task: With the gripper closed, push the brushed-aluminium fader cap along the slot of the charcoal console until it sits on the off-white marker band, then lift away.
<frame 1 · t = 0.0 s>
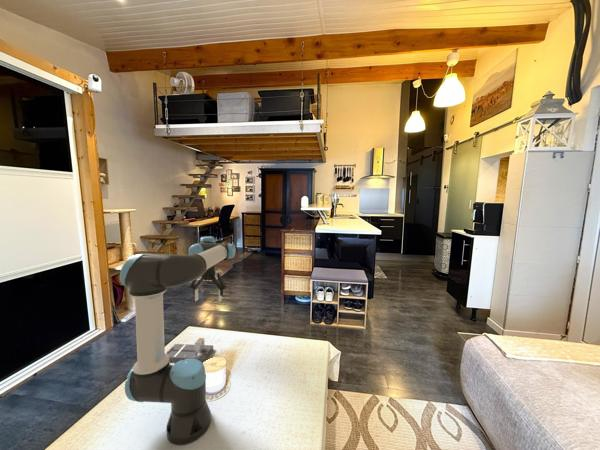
hand: (208, 300, 138), 28 cm above the table, fingers open, 13 cm apart
fader: (199, 345, 131), point 6 cm above the table, slide at -6.0 cm
console: (189, 355, 132), on the table
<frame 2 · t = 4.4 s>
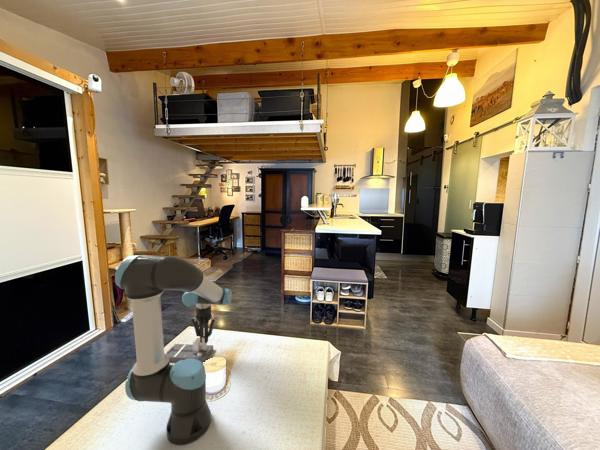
hand: (204, 348, 132), 4 cm above the table, fingers closed
fader: (197, 345, 131), point 6 cm above the table, slide at -4.9 cm, touching gripper
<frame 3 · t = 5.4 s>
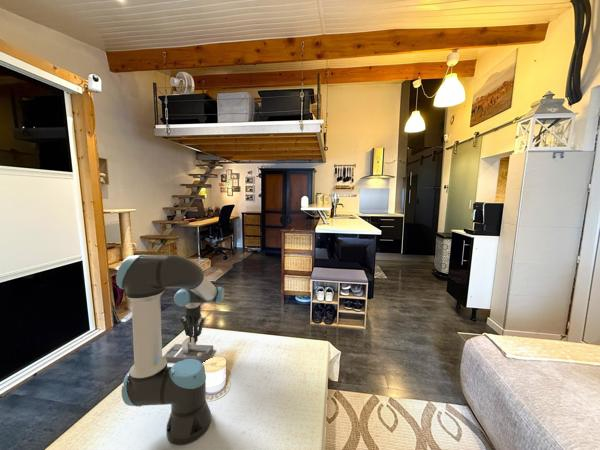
hand: (193, 347, 132), 4 cm above the table, fingers closed
fader: (187, 345, 132), point 6 cm above the table, slide at 0.9 cm, touching gripper
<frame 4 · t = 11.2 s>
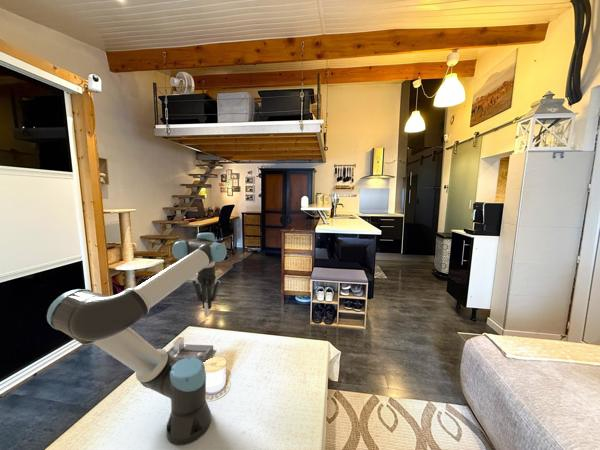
hand: (207, 314, 114), 30 cm above the table, fingers closed
fader: (178, 344, 132), point 6 cm above the table, slide at 5.6 cm
at the end: fader slide at 5.6 cm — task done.
